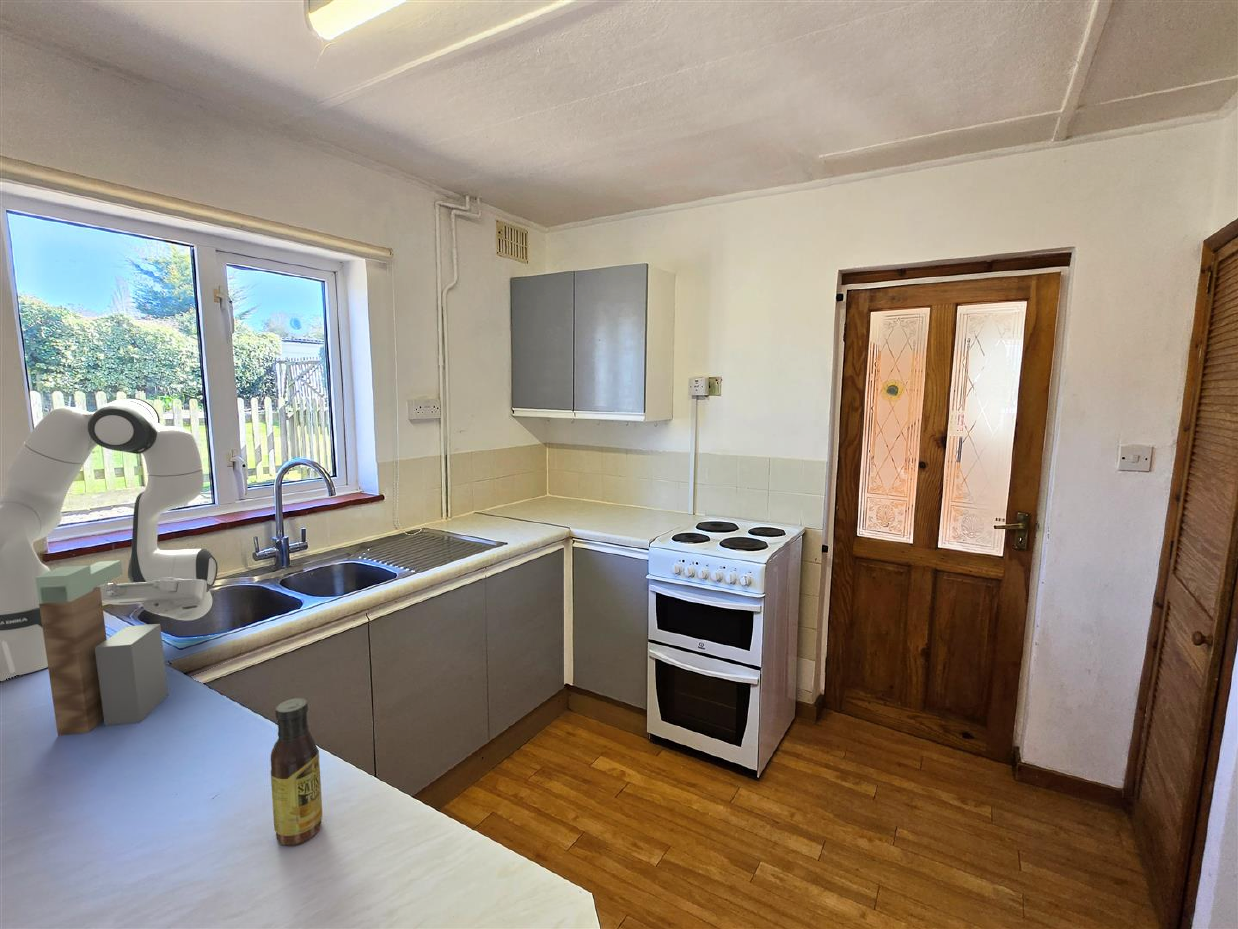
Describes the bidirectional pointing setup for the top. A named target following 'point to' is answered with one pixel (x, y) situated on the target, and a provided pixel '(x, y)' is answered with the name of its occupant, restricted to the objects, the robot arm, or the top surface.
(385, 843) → the top surface
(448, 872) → the top surface
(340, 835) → the top surface
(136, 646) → the gray block
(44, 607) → the walnut stand
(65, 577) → the green handle
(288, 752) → the sauce bottle
